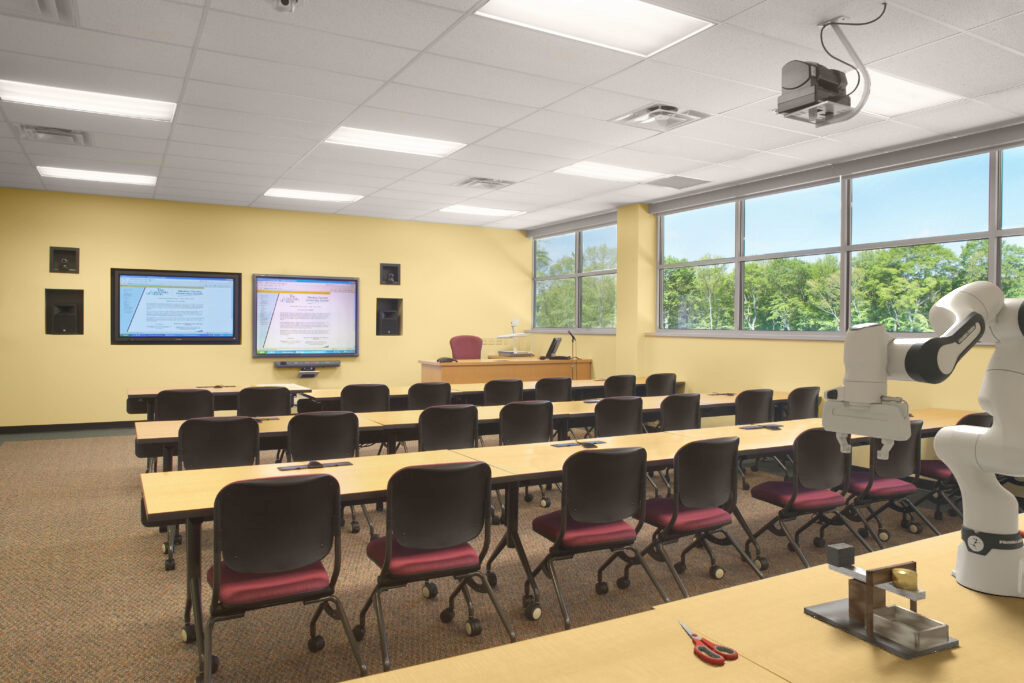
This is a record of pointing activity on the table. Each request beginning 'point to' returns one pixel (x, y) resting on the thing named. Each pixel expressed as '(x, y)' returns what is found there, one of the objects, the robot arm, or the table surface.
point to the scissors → (710, 649)
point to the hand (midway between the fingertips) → (863, 455)
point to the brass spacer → (904, 579)
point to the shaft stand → (884, 617)
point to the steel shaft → (843, 561)
